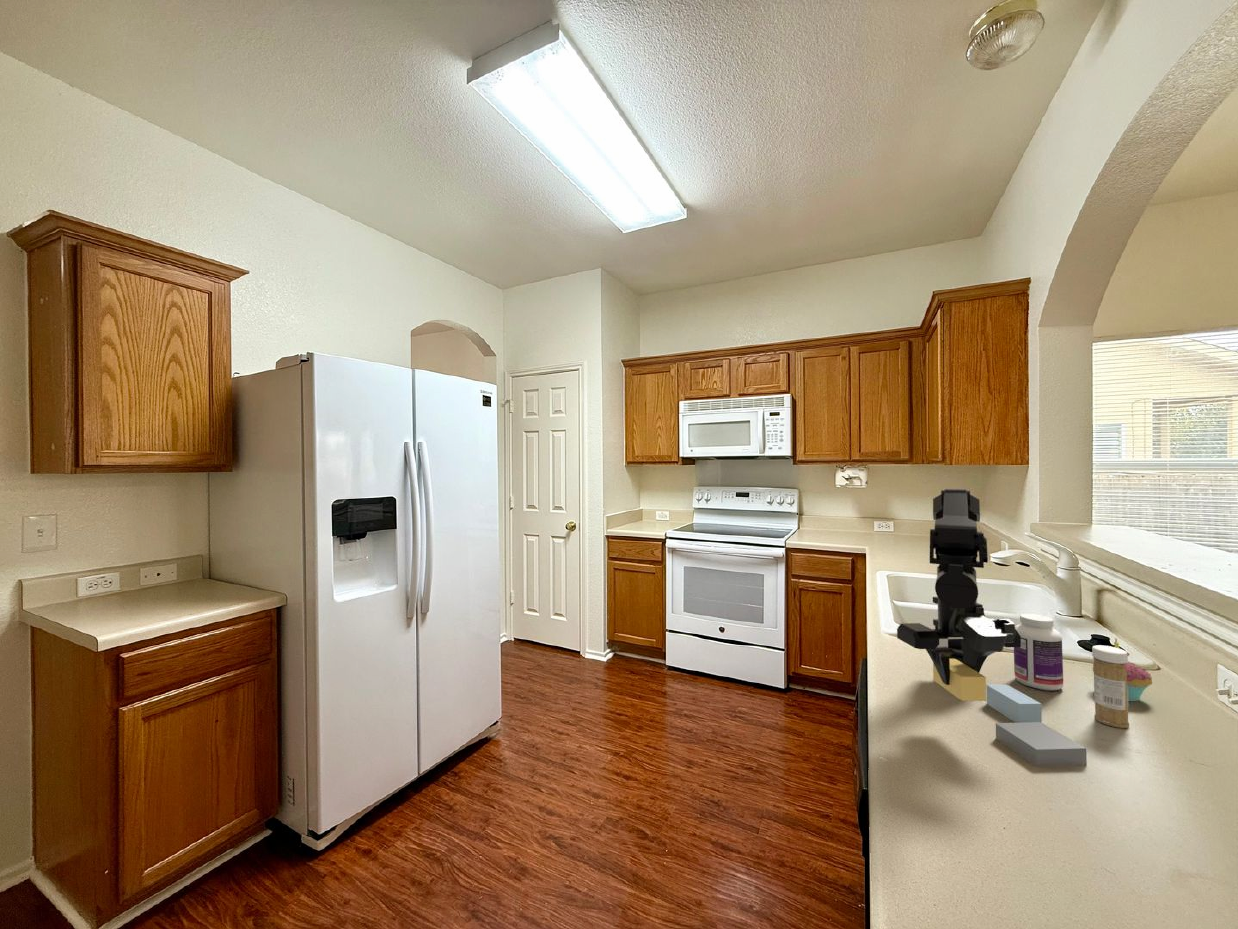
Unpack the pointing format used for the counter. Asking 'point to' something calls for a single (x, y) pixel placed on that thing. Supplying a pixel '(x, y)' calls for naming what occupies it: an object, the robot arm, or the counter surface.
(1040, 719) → the blue brick
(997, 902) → the counter surface
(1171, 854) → the counter surface
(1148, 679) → the cupcake
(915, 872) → the counter surface
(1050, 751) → the base slab
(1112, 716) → the sprinkles bottle
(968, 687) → the ochre brick
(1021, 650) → the pill bottle
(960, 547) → the robot arm
